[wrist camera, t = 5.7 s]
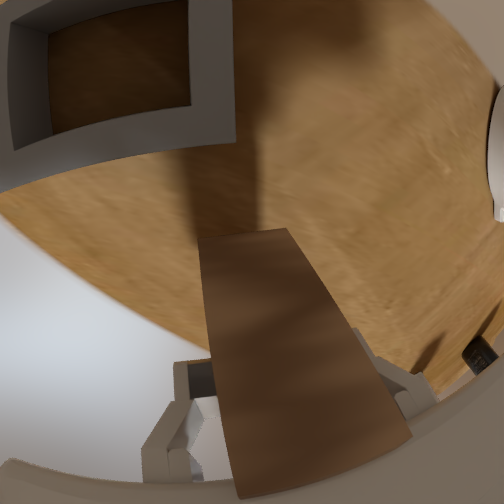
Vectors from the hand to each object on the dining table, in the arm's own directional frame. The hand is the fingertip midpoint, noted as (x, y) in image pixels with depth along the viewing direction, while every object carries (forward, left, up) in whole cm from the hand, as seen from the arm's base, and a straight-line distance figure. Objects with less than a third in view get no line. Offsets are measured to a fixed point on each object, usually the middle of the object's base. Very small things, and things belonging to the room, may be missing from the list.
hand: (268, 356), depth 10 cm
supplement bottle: (-51, +33, -8) cm, 61 cm away
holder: (+5, -11, -8) cm, 15 cm away
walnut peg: (0, 0, -5) cm, 5 cm away
